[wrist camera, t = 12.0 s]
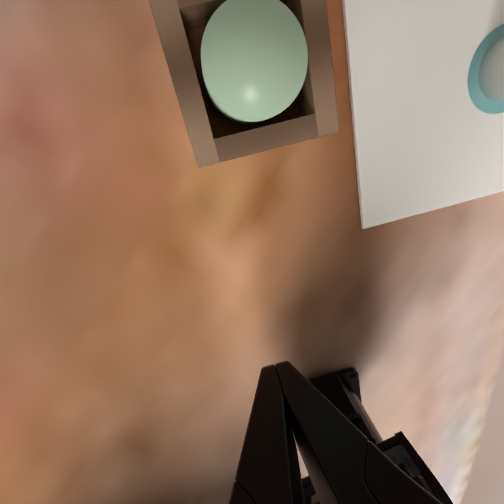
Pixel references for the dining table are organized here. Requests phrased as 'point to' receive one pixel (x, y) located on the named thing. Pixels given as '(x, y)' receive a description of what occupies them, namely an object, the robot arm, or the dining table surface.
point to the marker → (493, 72)
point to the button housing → (264, 138)
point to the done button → (253, 59)
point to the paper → (422, 104)
